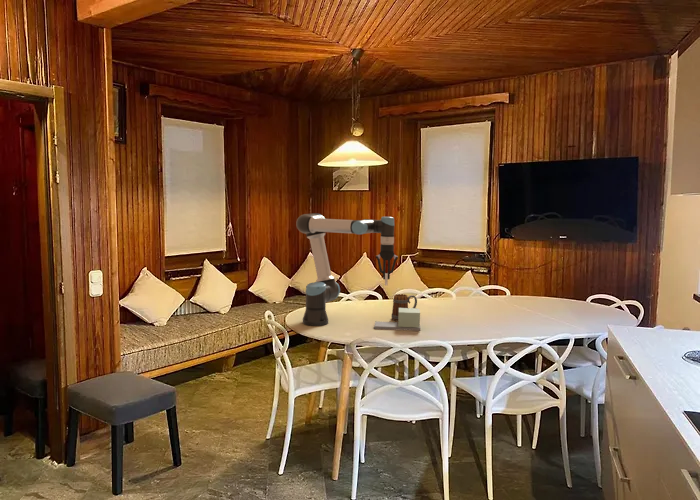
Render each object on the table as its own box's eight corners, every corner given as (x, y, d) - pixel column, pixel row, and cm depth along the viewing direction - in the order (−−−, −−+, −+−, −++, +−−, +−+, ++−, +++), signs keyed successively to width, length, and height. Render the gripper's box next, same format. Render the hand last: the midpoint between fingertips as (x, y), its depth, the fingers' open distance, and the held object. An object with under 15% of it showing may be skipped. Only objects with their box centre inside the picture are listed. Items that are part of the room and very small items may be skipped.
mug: (394, 321, 330) (394, 297, 328) (389, 317, 340) (390, 293, 339) (418, 320, 333) (419, 296, 331) (413, 317, 343) (414, 293, 342)
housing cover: (398, 326, 310) (398, 312, 310) (398, 321, 322) (398, 307, 321) (419, 327, 309) (420, 313, 308) (418, 322, 321) (419, 308, 320)
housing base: (374, 328, 312) (374, 317, 311) (375, 323, 324) (375, 312, 323) (420, 330, 310) (420, 319, 309) (419, 325, 321) (420, 314, 321)
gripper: (375, 244, 309) (374, 285, 311) (398, 244, 308) (397, 286, 310) (376, 243, 316) (375, 283, 319) (398, 243, 315) (397, 284, 318)
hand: (386, 284), depth 315 cm, fingers closed
